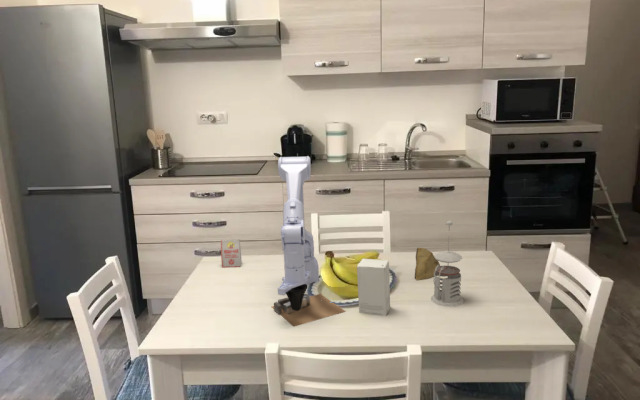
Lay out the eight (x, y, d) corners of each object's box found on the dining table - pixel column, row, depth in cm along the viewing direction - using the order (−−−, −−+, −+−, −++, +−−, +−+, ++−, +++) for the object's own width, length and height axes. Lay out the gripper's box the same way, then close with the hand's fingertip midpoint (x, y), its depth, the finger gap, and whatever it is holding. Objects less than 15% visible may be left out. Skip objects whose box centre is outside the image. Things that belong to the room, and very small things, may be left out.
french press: (469, 298, 159) (472, 219, 153) (450, 311, 151) (452, 228, 145) (441, 290, 166) (443, 214, 160) (421, 302, 158) (422, 223, 152)
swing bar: (306, 302, 158) (305, 293, 157) (311, 304, 156) (311, 295, 155) (282, 311, 152) (282, 302, 151) (288, 314, 150) (287, 305, 149)
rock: (441, 262, 183) (413, 258, 184) (446, 249, 177) (417, 245, 177) (441, 289, 177) (412, 285, 177) (447, 276, 170) (416, 272, 171)
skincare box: (390, 309, 153) (390, 259, 150) (385, 319, 147) (385, 267, 144) (363, 306, 156) (362, 257, 152) (357, 316, 150) (356, 265, 146)
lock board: (320, 296, 164) (320, 286, 163) (346, 314, 151) (345, 303, 150) (270, 310, 155) (269, 299, 155) (292, 330, 143) (292, 318, 142)
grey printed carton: (223, 264, 195) (221, 238, 193) (241, 263, 195) (240, 238, 193) (222, 267, 191) (220, 241, 189) (240, 267, 192) (238, 241, 189)
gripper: (296, 254, 155) (298, 297, 158) (267, 271, 143) (270, 316, 146) (316, 258, 151) (318, 301, 154) (289, 275, 139) (291, 321, 142)
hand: (296, 309), depth 150 cm, fingers closed
